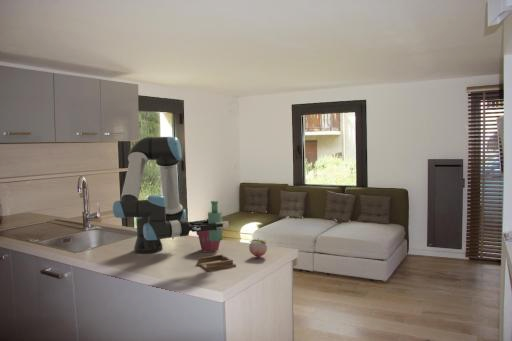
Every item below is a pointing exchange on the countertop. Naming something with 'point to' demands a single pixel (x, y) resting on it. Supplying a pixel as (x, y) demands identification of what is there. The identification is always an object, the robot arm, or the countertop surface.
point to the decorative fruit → (258, 247)
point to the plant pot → (207, 242)
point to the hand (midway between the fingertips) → (224, 222)
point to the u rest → (215, 262)
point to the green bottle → (213, 218)
